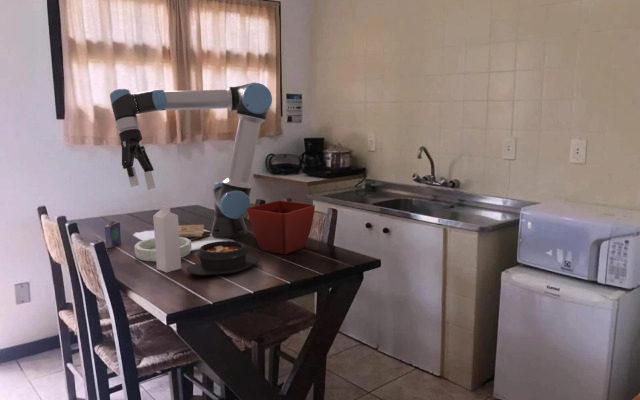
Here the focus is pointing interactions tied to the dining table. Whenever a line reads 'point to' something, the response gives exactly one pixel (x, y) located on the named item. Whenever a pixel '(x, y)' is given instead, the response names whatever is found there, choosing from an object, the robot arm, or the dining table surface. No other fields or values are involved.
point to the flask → (112, 234)
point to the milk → (167, 240)
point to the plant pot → (281, 225)
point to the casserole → (222, 259)
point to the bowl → (148, 251)
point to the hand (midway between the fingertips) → (143, 187)
